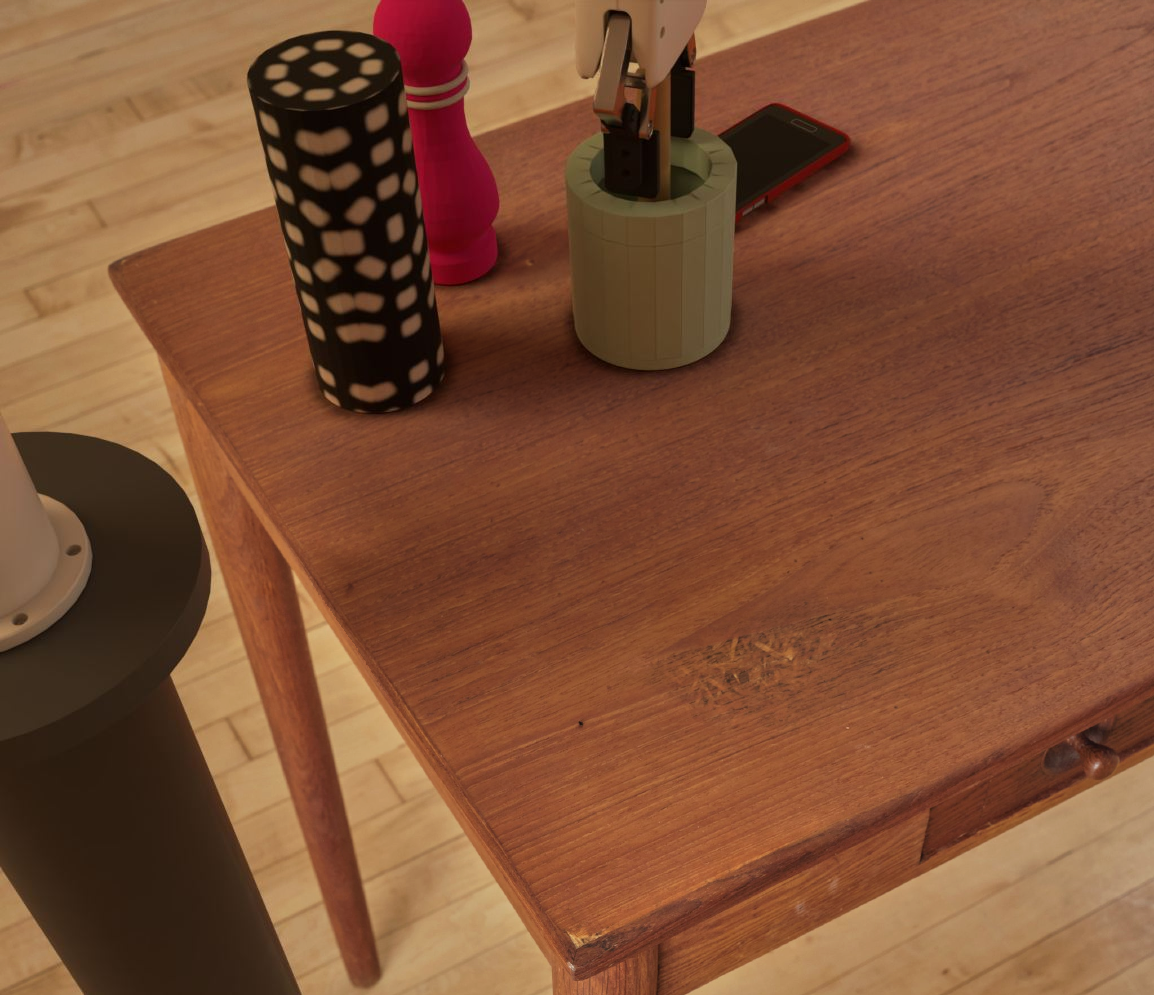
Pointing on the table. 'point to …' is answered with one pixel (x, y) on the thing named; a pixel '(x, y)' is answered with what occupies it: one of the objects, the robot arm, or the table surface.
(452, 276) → the pepper mill
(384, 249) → the white-spotted black cylinder
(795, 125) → the cell phone
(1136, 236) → the table surface
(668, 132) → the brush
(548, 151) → the table surface
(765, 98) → the table surface
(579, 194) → the jar
